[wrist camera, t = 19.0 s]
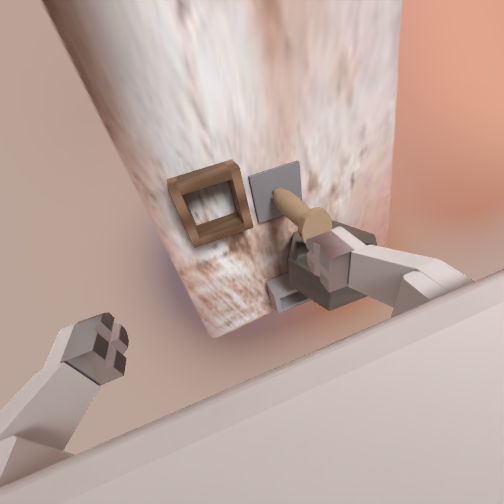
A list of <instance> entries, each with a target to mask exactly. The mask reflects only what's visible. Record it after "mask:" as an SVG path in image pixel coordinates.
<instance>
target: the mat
mask: <svg viewBox="0 0 504 504" xmlns="http://www.w3.org/2000/svg"><path fill="white" fill-rule="evenodd" d="M248 177H249V182H250V186H251V191H252V196H253V200H254V205H255V210H256V214H257V219H258V222H259V223H262V222H265V221H268V220H271V219H274V218H276V217H279V216H282V215H284V214H283V213H282V212H281V211H280V210H279V209H278V208H277V206H276V205H275V203H274V201H273V200H272V199H271V196H272V194H273V190H274V189H277V188H279V187H282V188H284V189H285V190H288V191H290V192H292V193H293V194H295V195H296V196H297V197H298V198H299V199H300V200H301V201H302V194H301V180H300V165H299V161H295V162H292V163H288V164H285V165H282V166H279V167H276V168H273V169H270V170H267V171H263V172H260V173H257V174H254V175H251V176H248Z"/></svg>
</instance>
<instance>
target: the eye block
mask: <svg viewBox="0 0 504 504" xmlns="http://www.w3.org/2000/svg"><path fill="white" fill-rule="evenodd" d="M167 180H168V191H169V193H170V195H171V197H172V199H173V202H174V204H175V206H176V208H177V210H178V213H179V215H180V217H181V219H182V221H183V224H184V226H185V228H186V230H187V232H188V235H189V237H190V239H191V241H192V243H193V246H194V248H196V247H199V246H202V245H205V244H208V243H211V242H213V241H216V240H219V239H222V238H225V237H228V236H230V235H233V234H236V233H239V232H242V231H245V230H248V229H250V228H253V223H252V219H251V215H250V211H249V206H248V202H247V198H246V193H245V189H244V185H243V181H242V176H241V172H240V168H239V166H238V165H237V164H236V163H235V162H234V161H233V160H228V161H225V162H222V163H219V164H215V165H212V166H209V167H206V168H203V169H199V170H196V171H193V172H190V173H186V174H183V175H180V176H177V177H173V178H170V179H167ZM228 180H229V183H230V187H231V190H232V194H233V198H234V202H235V205H236V209H237V212H236V213H233V214H230V215H227V216H224V217H221V218H218V219H215V220H212V221H209V222H206V223H204V224H201V225H198V226H196V223H195V221H194V218H193V216H192V214H191V211H190V209H189V206H188V204H187V202H186V199H185V197H184V194H187V193H190V192H193V191H197V190H200V189H203V188H206V187H209V186H212V185H215V184H219V183H222V182H225V181H228Z"/></svg>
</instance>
